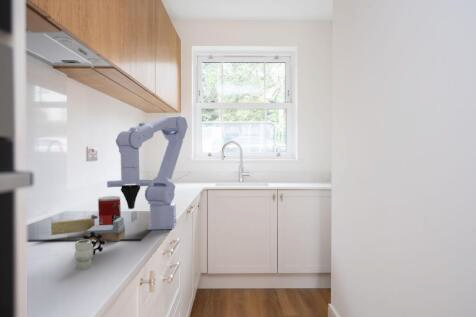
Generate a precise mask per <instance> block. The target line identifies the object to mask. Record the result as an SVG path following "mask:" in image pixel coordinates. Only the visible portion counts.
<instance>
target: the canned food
mask: <svg viewBox="0 0 476 317" xmlns="http://www.w3.org/2000/svg"><path fill="white" fill-rule="evenodd" d="M97 200H98V203H97V204H98V205H97V207H98V225H113V221H115V220H116V219H118V218H122V212H121V209H122V208H121V196H117V195H111V196H110V195H107V196H102V197H98V199H97Z"/></svg>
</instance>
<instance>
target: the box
mask: <svg viewBox="0 0 476 317" xmlns="http://www.w3.org/2000/svg"><path fill="white" fill-rule="evenodd" d="M99 234H100V233H96V234H95V235H97V236H98V235H99ZM101 234H102V235H103V236H102V237H101V240H105V241H106V243H108V242H120V241H121V240H122V239H123V238H124V237H125V236H124V235H126V227H125V228H123V229H122V230H121V231H120V232H119V233H101ZM85 235H88V236H91V234H86V233H85ZM123 236H124V237H123ZM122 237H123V238H122ZM88 240H95V241H96V240H98V239H97V238H94V237H92V238H89V239H88Z"/></svg>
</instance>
